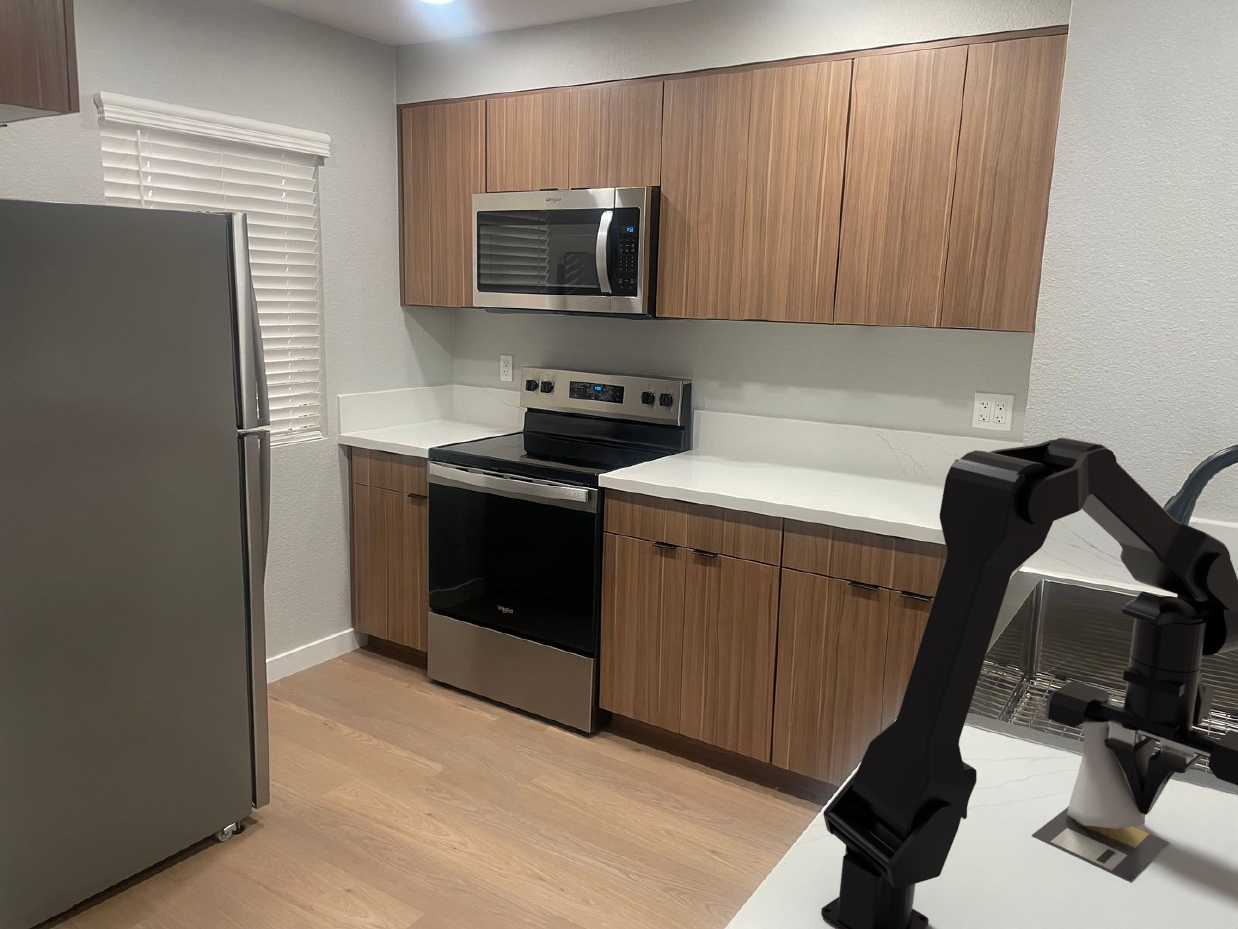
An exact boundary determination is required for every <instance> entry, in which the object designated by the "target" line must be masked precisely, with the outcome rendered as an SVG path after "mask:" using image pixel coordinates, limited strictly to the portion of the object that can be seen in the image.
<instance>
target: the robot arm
mask: <svg viewBox="0 0 1238 929" xmlns="http://www.w3.org/2000/svg"><path fill="white" fill-rule="evenodd" d="M941 498H942V499H941V505H940V511H939V516H938V517H939V521H940V526H941V531H942V534H943V539H944V544H945V548H946V553H947V554H946V558H945V562H944V565H943V568H942V571H941V574H940V577H939V580H938V585H937V588H936V591H935V593H934V597H933V601H932V604H931V608H930V610H929V613H928V617H927V620H926V623H925V627H924V629H923V630H924V631H923V634H922V636H921V640H920V643H919V646H918V649H917V653H916V656H915V660H914V662H913V666H912V669H911V673H910V676H909V679H908V681H907V682H908V683H907V684H906V688H905V692H904V694H903V695H904V696H903V698H902V701H901V705H900V708H899V712H898V713H897V714H898V715H897V717H896V719H895V720H894V721H893V722H892V723H890V724H889V725H888V726H887V727H886V728H884V729H883V730H882V731H880V732H879V733H878V734H877V735H876V736H875V737H874V738H872V739H871V740H870V742H869V744H868V746H867V747H866V750H865V753H864V755H863V757H862V759H861V761H860V764H859V766H858V768H857V769H856V771H855V773H853V775H852V777H850V779H849V780H848V781H847V782H846V783H845V785H844V786H843V787H842V788H841V790H840V791H839V792H838V793H837V795H836V796H835V797H834V798H833V800H832V801H831V802H830V803H829V804H828V805H827V807H826V808H825V809H824V811H823V818H824V824H825V826H826V831H827V832H829V833H830V835H833V836H835V837H836V838H837V839H838V840H840V841H841V843H843V844H844V845H845V852H844V855H843V857H842V863H841V864H842V865H841V874H840V885H839V896H837V897H836V898H835V899H833V900H832V901H830V902H829V903H828V904H826V905H824V906H823V907H821V911H820V915H821V916H822V917H823V918H824V919H825V920H827V921H829V923H831V924H833V925H834V926H836V927H838V928H840V929H926V928H927V927H928V926H929V923H930V922H929V917H927V916H926V915H925V914H923V913H921V912H920V911H918V910H916V909H914V908H913V907H914V906H913V905H914V900H915V891H916V884H918V883H923V882H926V881H929V880H932V879H935V878H938V877H940V876H941V874H942V872H943V869H944V866H945V864H946V861H947V859H948V856H949V854H950V850H951V848H952V847H953V846H952V845H953V843H954V841H955V838H956V835H957V833H958V831H959V827H960V824H961V822H962V820H966V819H967V818H968V807H969V801H970V798H971V795H972V793H973V791H974V788H975V786H976V784H977V780H978V779H977V777H978V776H977V774H978V773H977V772H978V771H977V769H975V768H974V767H973V766H971V765H970V764H968V763H966V762H964V761H963V757H962V753H961V749H960V748H961V747H960V741H961V740H960V739H961V735H962V732H963V730H964V726H965V722H966V720H967V717H968V713H969V710H970V707H971V704H972V700H973V697H974V694H975V692H976V691H975V690H976V687H977V685H978V681H979V678H980V676H981V675H980V674H981V672H982V668H983V665H984V662H985V659H986V655H987V653H988V649H989V646H990V643H991V640H992V636H993V634H994V630H995V626H996V624H997V621H998V618H999V614H1000V611H1001V607H1002V606H1003V601H1004V598H1005V594H1006V592H1007V589H1008V585H1009V582H1010V579H1011V576H1012V575H1013V572H1015V571H1016V570H1017V569H1019V567H1021V566H1022V565H1023V564H1024V563H1025V562H1027V560H1028V559H1030V558H1031V557H1032V556H1033V555H1034V554H1036V553H1037V552H1038V551H1039V550H1040V549H1041V548H1042V547H1043V546H1044V543H1045V542H1046V539H1047V537H1048V535H1049V533H1050V530H1051V528H1052V526H1053V523H1054V522H1056V521H1057V520H1059V519H1062V518H1065V517H1067V516H1071V515H1073V514H1076V513H1078V512H1080V511H1083V512H1085V514H1087V515H1088V517H1090V518H1091V519H1092V520H1093V521H1094V522H1095V523H1097V525H1099V526H1100V527H1101V528H1102V529H1103V530H1105V532H1106V533H1107V534H1108V535H1109V536H1111V537H1112V538H1113V539H1114V540H1115V541H1116V542H1117V543H1118V544H1119V546H1120V547H1121V553H1120V560H1121V561H1122V563H1123V565H1124V566H1125V568H1126V569H1127V570H1128V572H1129V573H1130V575H1131V577H1132V578H1133V579H1134V580H1135V581H1137V582H1139V583H1140V584H1144V585H1147V586H1150V587H1153V588H1156V589H1160V590H1163V591H1164V592H1165V591H1166V592H1169V593H1171V594H1175V595H1176V597H1175V596H1170V595H1163V596H1159V595H1156V594H1154V593H1153V594H1152V593H1149V592H1146V591H1140V593H1139V594H1138V595H1137V596H1136V597H1135V598H1134V599H1132V600H1131V601H1129V602H1127V603H1125V605H1124V606H1123V607H1122V608H1121V614H1122V615H1124V616H1127V617H1130V618H1132V619H1134V622H1133V629H1132V638H1131V646H1130V654H1129V661H1128V662H1129V663H1128V668H1126V669H1124V670H1123V678H1122V681H1124V682H1126V686H1125V693H1124V702H1123V707H1120V706H1117V705H1114V704H1112V703H1111V704H1110V695H1109V692H1108V691H1107V690H1106V689H1105V690H1104V689H1102V688H1098V687H1096V686H1092V685H1089V684H1087V683H1083V682H1079V681H1076V680H1072V681H1071V682H1069V683H1066V684H1065V685H1063V686H1062V687H1061V686H1060V687H1059V688H1057V689H1056V690H1054V691H1052V692H1051V693H1049V694H1048V697H1047V698H1046V702H1045V710H1044V716H1045V717H1046V718H1047V720H1051V721H1053V722H1055V723H1059V724H1061V725H1065V726H1067V727H1070V728H1076V727H1079V726H1080V725H1081V724H1082V723H1084V722H1085V719H1086V717H1089V718H1092V719H1095V720H1098V721H1101V722H1106V721H1109V722H1108V725H1109V726H1110V728H1109V736H1108V738H1107V739H1105V740H1104V745H1105V746H1106V747H1107V748H1110V749H1112V750H1113V751H1114V753H1115V755H1116V757H1117V759H1118V761H1119V763H1120V765H1121V767H1122V769H1123V771H1124V773H1125V775H1126V777H1127V780H1128V782H1129V785H1130V788H1131V790H1132V793H1133V796H1134V798H1135V801H1136V804H1137V806H1138V809H1139V812H1140V813H1142V814H1145V816H1147V815H1149V813H1150V812H1151V811H1152V809H1153V808H1154V806H1155V804H1156V803H1157V801H1158V799H1159V797H1160V796H1161V795H1162V792H1163V791H1164V789H1165V788H1166V786H1167V784H1168V782H1170V779H1171V778H1172V777H1173V775H1174V774H1175V773H1177V774H1185V773H1187V772H1188V771H1189V770H1190V769H1191V768H1192V767H1194V766H1195V765H1196V764H1197V763H1198V762H1199V761H1201V760H1202V759H1203V757H1204V758H1207V759H1209V760H1208V765H1207V766H1208V768H1209V770H1210V771H1211V772H1212V774H1213V775H1214V776H1215V778H1216V779H1218V780H1220V781H1223V782H1226V783H1229V784H1232V785H1235V786H1237V787H1238V731H1235V730H1232V729H1229V730H1228V731H1227V732H1226V733H1225V734H1224V735H1223V736H1222V737H1221V738H1216V737H1212V736H1210V735H1206V734H1205V733H1204V732H1203V733H1202V732H1200V731H1197V730H1193V729H1192V728H1193V726H1196V727H1200V725H1201V724H1202V723H1203V720H1206V721H1208V719H1209V715H1210V712H1211V708H1212V703H1213V699H1214V695H1215V692H1216V689H1214V688H1211V687H1208V686H1205V685H1202V682H1203V671H1202V670H1201V666H1202V665H1201V664H1202V658H1203V657H1202V656H1212V655H1217V654H1223V653H1226V652H1231V651H1237V650H1238V576H1237V573H1236V570H1235V568H1234V564H1233V562H1232V560H1231V555H1230V551H1229V549H1228V547H1227V546H1226V544H1225V543H1224V542H1222V541H1221V540H1219V539H1217V538H1215V537H1214V536H1212V535H1210V534H1209V533H1207V532H1205V531H1203V530H1200V529H1197V528H1195V527H1193V526H1190V525H1187V524H1185V523H1183V522H1180V521H1179V520H1177V519H1176V518H1174V517H1172V515H1170V514H1169V513H1168V512H1167V510H1165V509H1164V507H1162V506H1161V504H1159V502H1157V501H1156V500H1155V498H1153V496H1152V495H1150V494H1149V493H1148V491H1146V490H1145V489H1144V487H1142V486H1141V485H1140V483H1138V481H1137V480H1136V479H1134V478H1133V477H1132V475H1130V474H1129V473H1128V472H1127V471H1126V470H1125V469H1124V468H1123V466H1121V465H1120V464H1119V462H1118V461H1117V457H1116V455H1115V453H1114V451H1112V450H1110V449H1109V448H1108V447H1107V446H1104V445H1103V444H1100V443H1094V442H1090V441H1085V440H1084V441H1083V440H1078V439H1071V438H1066V437H1058V438H1056V439H1049V440H1046V441H1043V442H1041V443H1037V444H1034V445H1024V446H1017V447H1009V448H1002V449H1000V448H999V449H995V450H994V449H993V450H991V451H985V450H973V451H970V452H969V451H968V452H967V453H966V454H964V455H963V456H962V457H960V458H959V459H955V460H954V461H953V463H952V464H951V466H950V467H949V470H948V472H947V474H946V477H945V481H944V487H943V492H942V497H941ZM1157 742H1159V744H1158V745H1159V746H1158V747H1160V749H1158V751H1156V752H1154V751H1155V748H1156V745H1157Z"/></svg>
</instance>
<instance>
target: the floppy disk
mask: <svg viewBox="0 0 1238 929" xmlns="http://www.w3.org/2000/svg"><path fill="white" fill-rule="evenodd" d="M1068 807H1069V806H1067V807H1065V809H1063V810H1062V811H1060V812H1059V813H1058V814H1057V815H1056V816H1054V817H1053V818H1052V819H1051V820H1049V821H1048V822H1047V823H1045V824H1044V825H1043V826H1041V827H1040V828H1039V829H1037V831H1035V832H1034V833H1033V834H1032V835H1031V836H1032V837H1034V838H1036V839H1038V840H1040V841H1043V842H1045V843H1046V844H1048V845H1051V846H1053V847H1055V848H1057V849H1060V850H1061V851H1063V852H1066V853H1067V854H1070V855H1073V857H1074V856H1075V857H1076V858H1079V859H1081V860H1083V861H1085V862H1087V863H1090V864H1091V865H1094V866H1095V867H1096V866H1097V867H1098V868H1100V869H1102V870H1105V871H1106V872H1109V873H1111V874H1113V875H1115V876H1117V877H1119V878H1122V879H1123V880H1126V881H1128V882H1131V881H1133V879H1134V878H1135V877H1137V875H1139V874H1140V872H1141V871H1142V870H1144V868H1145V867H1147V865H1149V863H1151V861H1153V859H1154V858H1155V857H1157V855H1158V854H1159V853H1161V851H1162V850H1163V849H1164V848H1165V847H1166V846H1167V845H1168V844H1169V843H1170V841H1169V840H1167V839H1164V838H1161V837H1159V836H1157V835H1155V834H1151V833H1150V832H1147V831H1145V830H1143V829H1140V828H1138V827H1137V826H1133V827H1126V828H1120V829H1114V828H1105V827H1095V826H1086V825H1083V824H1081V823H1080V822H1078V821H1077V820H1075V819H1073V818H1072V817H1070V816H1069V815H1067V811H1068Z"/></svg>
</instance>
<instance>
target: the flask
mask: <svg viewBox="0 0 1238 929" xmlns="http://www.w3.org/2000/svg"><path fill="white" fill-rule="evenodd" d="M1108 722H1109V721H1106V722H1101V721H1098V720H1095V719H1092V718H1089V717H1086V719H1085V722H1084V723H1082V724H1080V725H1082V729H1083V730H1082V731H1083V746H1082V748H1083V749H1082V757H1081V759H1080V760H1081V762H1080V765H1079V768H1078V773H1077V775H1076V779H1075V783H1074V785H1073V789H1072V793H1071V797H1070V800H1069V802H1068V803H1069V804H1068V806H1067V807H1068V811H1067V815H1069V816H1070V817H1072V818H1073V819H1075V820H1077V821H1078V822H1080V823H1081V824H1083V825H1086V826H1095V827H1105V828H1114V829H1120V828H1126V827H1139V826H1145V823H1146V815H1145V814H1142V813H1140V812H1139V809H1138V806H1137V804H1136V801H1135V798H1134V796H1133V793H1132V790H1131V788H1130V785H1129V782H1128V780H1127V777H1126V775H1125V773H1124V771H1123V769H1122V767H1121V765H1120V763H1119V761H1118V759H1117V757H1116V755H1115V753H1114V751H1113V750H1112V749H1110V748H1107V747H1106V746H1105V745H1104V740H1105V739H1107V738H1108V736H1109V728H1110V726H1109V725H1108Z"/></svg>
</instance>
